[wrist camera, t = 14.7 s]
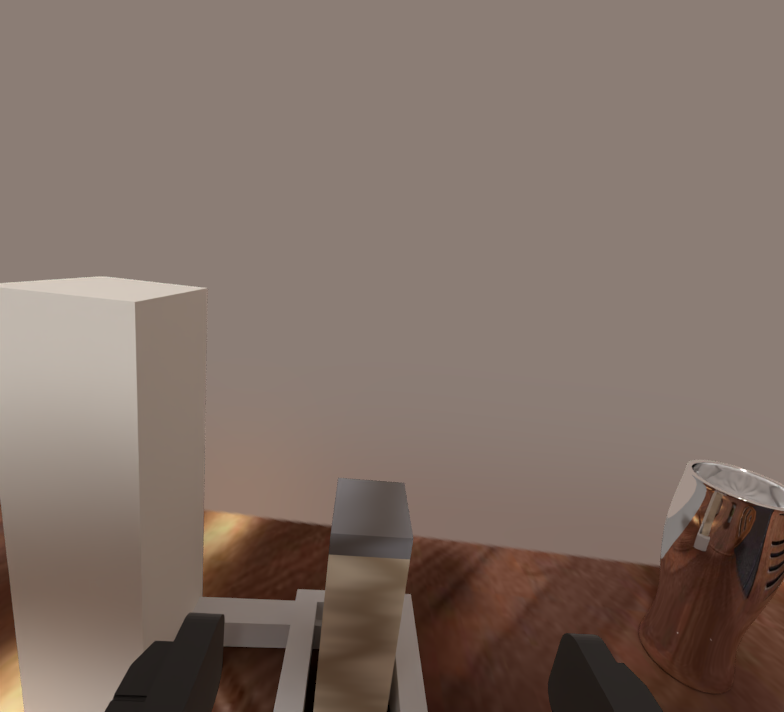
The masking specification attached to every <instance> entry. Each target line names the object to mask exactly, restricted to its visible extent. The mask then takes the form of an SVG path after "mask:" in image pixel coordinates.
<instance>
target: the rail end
mask: <svg viewBox="0 0 784 712" xmlns="http://www.w3.org/2000/svg"><path fill="white" fill-rule="evenodd" d="M412 544H413V534H412V528H411V522H410V515H409V509H408V503H407V497H406V491H405V485H404V483H398V482H385V481H373V480H360V479H347V478H338V484H337V492H336V499H335V506H334V513H333V521H332V528H331V537H330V547H329V557H328V567H327V577H326V587H325V598H324V608H323V618H322V628H321V638H320V648H319V658H318V668H317V679H316V689H315V699H314V709H313V712H387V707H388V701H389V694H390V687H391V681H392V674H393V668H394V661H395V655H396V648H397V642H398V635H399V629H400V622H401V616H402V609H403V602H404V596H405V589H406V583H407V576H408V570H409V563H410V557H411V550H412Z"/></svg>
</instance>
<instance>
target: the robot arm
mask: <svg viewBox="0 0 784 712" xmlns="http://www.w3.org/2000/svg"><path fill="white" fill-rule="evenodd" d="M224 624H225V616H224V614H211V613H192V612H190V613H188V615H187V616H186V617H185V619H184V621H183V623H182V625H181V627H180V629H179V631H178V633H177V635H176V637H175V639H174V641H154V642H153V643H152V644H151V645H150V646H149V647H148V648H147V649H146V650H145V651H144V652H143V653H142V654H141V655H140V656H139V657H138V658H137V659H136V660H135V661H134V662H133V663H132V664H131V665H130V667H129V669H128V671H127V673H126V674H125V676H124V678H123V680H122V681H121V683H120V685H119V687H118V689H117V690H116V692H115V694H114V697H113V700H112V701H110V703H109V705H108V706H107V708H106V710H105V712H211V711H212V708H213V705H214V702H215V698H216V695H217V691H218V687H219V683H220V678H221V672H222V663H223V644H224ZM548 694H549V701H550V705H551V709H552V712H663V711H662V709H661V708H660V706H659V705H658V703H657V702H656V700H655V698H654V697H653V695H652V694H651V692H650V691H649V689H648V688H647V686H646V685H645V684H644V683H643V682H642V681H641V680H640V679H639V678H638V677H637V676H636V675H635V674H634V673H633V672H632V671H631V670H630V669H629V668H628V667H627V666H626V665H625V664H624V663H617V662H616V661H615V659H614V657H613V656H612V654H611V653H610V651H609V649H608V648H607V646H606V644H605V643H604V641H603V640H602V639H601V638H600V637H599V636H597V635H589V634H570V633H566V634H564V635H563V636H562V639H561V641H560V645H559V648H558V651H557V654H556V658H555V661H554V664H553V667H552V671H551V674H550V677H549V682H548Z"/></svg>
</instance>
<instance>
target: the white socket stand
mask: <svg viewBox="0 0 784 712" xmlns="http://www.w3.org/2000/svg"><path fill="white" fill-rule="evenodd" d="M207 291H208V290H207V288H201V287H193V286H184V285H175V284H166V283H158V282H148V281H139V280H131V279H122V278H113V277H105V276H100V277H86V278H85V277H84V278H70V279H55V280H40V281H26V282H12V283H0V500H1V509H2V517H3V526H4V535H5V544H6V553H7V562H8V571H9V579H10V588H11V597H12V606H13V615H14V624H15V633H16V641H17V650H18V659H19V668H20V677H21V686H22V695H23V704H24V712H105V710H106V708H107V706H108V705H109V703H110V701H112V700H113V697H114V694H115V692H116V690H117V689H118V687H119V685H120V683H121V681H122V680H123V678H124V676H125V674H126V673H127V671H128V669H129V667H130V665H131V664H132V663H133V662H134V661H135V660H136V659H137V658H138V657H139V656H140V655H141V654H142V653H143V652H144V651H145V650H146V649H147V648H148V647H149V646H150V645H151V644H152V643H153V642H154V641H174V639H175V637H176V635H177V633H178V631H179V629H180V627H181V625H182V623H183V621H184V619H185V617H186V616H187V615H188V613H190V612H192V613H211V614H224V616H225V624H224V644H223V646H232V647H265V648H286V650H285V655H284V660H283V666H282V671H281V676H280V681H279V686H278V691H277V696H276V701H275V706H274V711H273V712H304V711H305V703H306V696H307V688H308V680H309V672H310V665H311V657H312V649H319V648H320V638H321V628H322V618H323V608H324V598H325V590H305V589H298V590H297V595H296V600H295V601H290V600H266V599H242V598H218V597H202V595H203V534H204V474H205V413H206V409H205V408H206V353H207V350H206V349H207ZM389 708H390V712H428V711H427V704H426V697H425V690H424V683H423V676H422V669H421V662H420V655H419V648H418V641H417V634H416V627H415V620H414V613H413V606H412V599H411V594H405V596H404V602H403V609H402V616H401V622H400V629H399V635H398V642H397V648H396V655H395V661H394V668H393V674H392V681H391V687H390V694H389Z"/></svg>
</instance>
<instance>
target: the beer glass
mask: <svg viewBox="0 0 784 712" xmlns="http://www.w3.org/2000/svg"><path fill="white" fill-rule="evenodd" d="M783 580H784V485H783V484H781V483H779V482H777V481H774V480H772V479H770V478H767V477H765V476H763V475H760V474H758V473H755V472H752V471H750V470H747V469H743V468H740V467H737V466H734V465H730V464H726V463H721V462H716V461H709V460H693V461H690V462H688V463H687V466H686V469H685V472H684V474H683V476H682V478H681V481H680V483H679V485H678V487H677V490H676V492H675V494H674V497H673V500H672V503H671V505H670V508H669V511H668V515H667V518H666V522H665V526H664V532H663V540H662V547H661V559H660V574H659V583H658V589H657V594H656V597H655V600H654V602H653V604H652V606H651V608H650V609H649V611H648V612H647V614H646V615H645V617H644V618H643V620H642V622H641V624H640V626H639V637H640V640H641V643H642V645H643V647H644V648H645V650H646V651H647V653H648V654H649V655H650V657H651V658H652V659H653V660H654V661H655V662H656V663H657V664H658V665H659V666H660V667H661V668H662V669H663V670H664V671H666V672H667V673H668V674H669V675H671V676H672V677H674V678H675V679H677V680H678V681H680V682H682V683H683V684H685V685H687V686H689V687H691V688H694V689H696V690H699V691H702V692H706V693H712V694H720V693H725V692H727V691H728V690H729V689H730V688H731V687H732V684H733V681H734V674H735V663H736V655H737V650H738V647H739V644H740V642H741V640H742V638H743V636H744V634H745V633H746V631H747V630H748V629H749V627H750V626H751V624H752V623H753V622H754V621H755V619H756V618H757V617H758V616H759V614H760V613H761V612H762V611H763V609H764V608H765V607H766V605H767V604H768V603H769V602H770V600H771V599H772V598H773V596H774V595H775V593H776V592H777V590H778V588H779V587H780V585H781V584H782V582H783Z"/></svg>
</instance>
